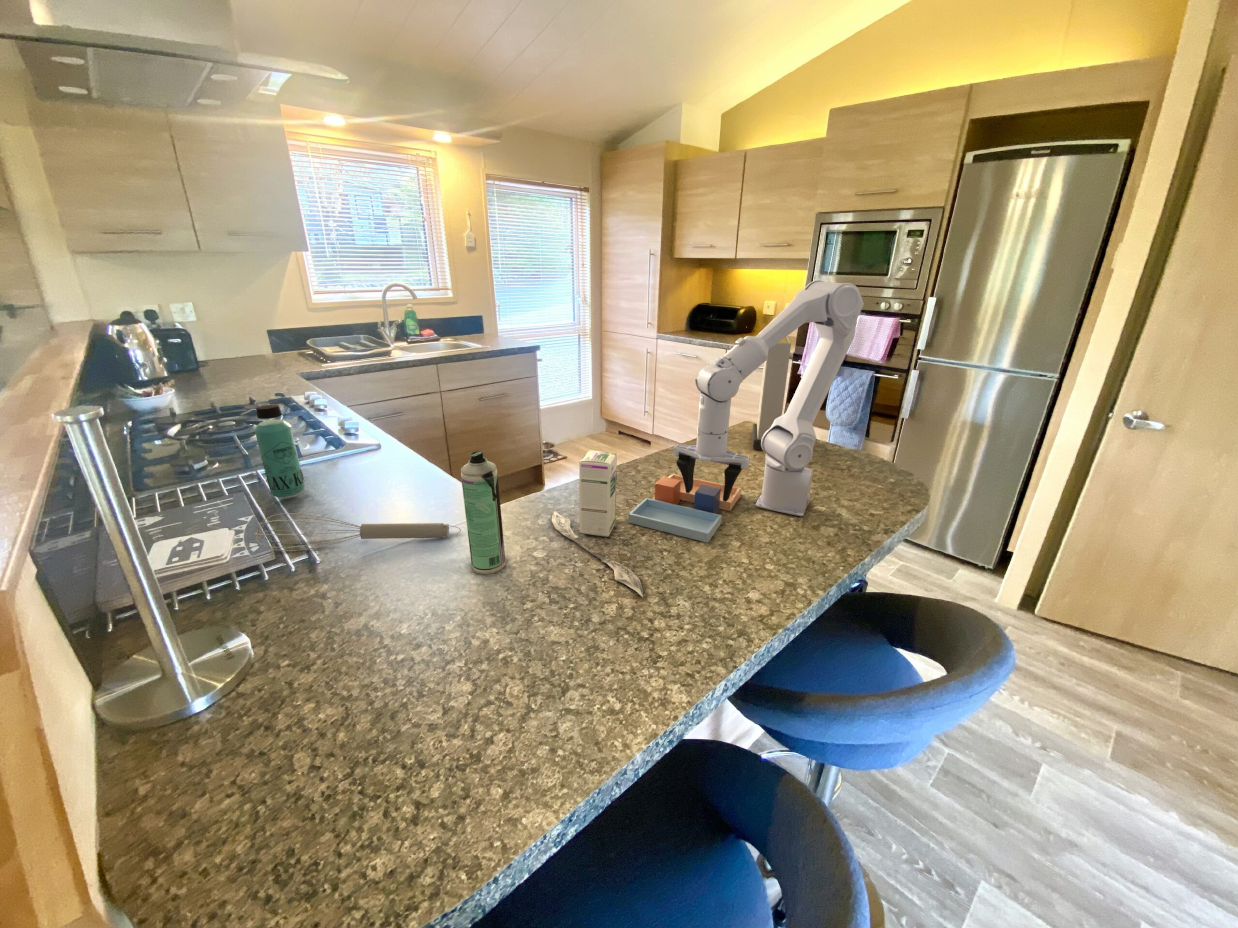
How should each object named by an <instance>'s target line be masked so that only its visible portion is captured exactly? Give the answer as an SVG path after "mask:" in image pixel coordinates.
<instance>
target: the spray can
mask: <svg viewBox="0 0 1238 928" xmlns="http://www.w3.org/2000/svg"><path fill="white" fill-rule="evenodd" d="M470 457H471V458H470V459H469V460H468V463H466V464H463V466H461V468H460V479H461V486H462V487H461V488H462V497H463V504H464V512H465V513H464V514H465V520H466V521H465V522H466V530H467V537H468V546H469V553H470V555H469V556H470V562H471V569H472V570H473V571H474V572H475V573H477V574H483V575H488V574H489V575H490V574H494V573H497V572H499V571H501V570H503V568H504V567H505V566H506V550H505V541H504V539H505V538H504V529H503V528H504V527H503V519H502V508H501V496H500V486H499V473H498V469H497V465H496V464H495V463H494V462H492V461H490V460H489V461H488V458H486V457H485V456H484V453H483V451H481V450H476V451H473V452H472V453H471V455H470Z"/></svg>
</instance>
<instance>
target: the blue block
mask: <svg viewBox="0 0 1238 928" xmlns="http://www.w3.org/2000/svg"><path fill="white" fill-rule="evenodd" d="M720 492H721V489H720V488H715V487H710V486H705V485H701V486H700V487H699V488H698V490H697V491H696V492H695V500H694V503H693V509H697V510H701V511H706V512H710V513H714V514H718V513H719V512H720V509H719V503H720Z"/></svg>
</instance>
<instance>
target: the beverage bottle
mask: <svg viewBox="0 0 1238 928" xmlns="http://www.w3.org/2000/svg"><path fill="white" fill-rule="evenodd" d="M255 410H256V417H257V419H260V420H264V421H261V422H259V423H258V424H257V425H256V426H255V428H254V431H253V432H254V433H255V438H256V442H257V445H258V449H259V453H260V459H261V463H262V468H263V471H264V477H265V478H266V480H265V481H266V484H267V486H268V489H269V493H270V494H271V496H272V497H276V498H285V497H292V496H295V495H298V494H300V493H302V492H304V490H305V487H306V484H305V482H306V481H305V478H304V474H303V470H302V467H301V461H300V457H299V455H298V451H297V449H298V447H297V446H296V443H295V439H294V435H293V431H292V425H291V424H290V423H289V422H287V421H286V420H283V419H275V418H278V417H281V416H283V412H282V410H281V407H280V405H279V404H277V403H276V404H275V403H270V404H262V405H259V406H257V407H255Z"/></svg>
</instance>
